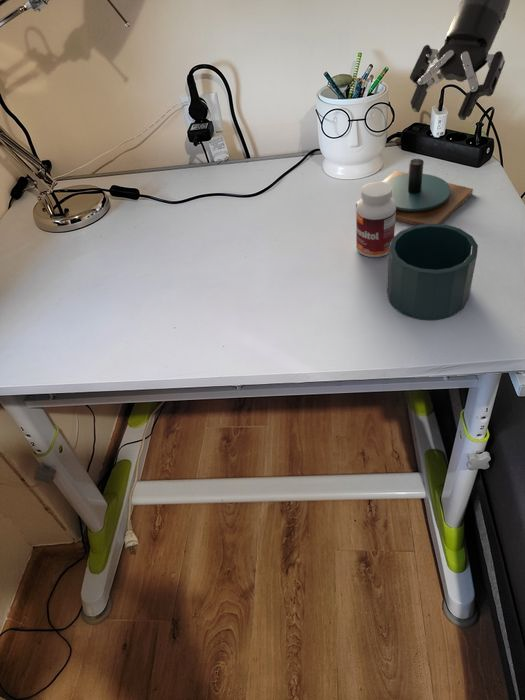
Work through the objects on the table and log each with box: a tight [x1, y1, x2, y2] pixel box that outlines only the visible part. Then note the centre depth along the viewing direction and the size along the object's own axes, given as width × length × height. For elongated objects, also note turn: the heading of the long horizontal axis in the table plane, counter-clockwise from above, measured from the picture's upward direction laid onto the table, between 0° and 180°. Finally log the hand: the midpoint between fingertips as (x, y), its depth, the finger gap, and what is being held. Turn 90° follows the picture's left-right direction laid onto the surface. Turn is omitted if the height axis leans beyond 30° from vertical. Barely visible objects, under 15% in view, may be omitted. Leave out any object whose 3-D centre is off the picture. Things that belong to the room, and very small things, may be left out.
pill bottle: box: [355, 180, 396, 258], centre depth 82 cm, size 6×6×11 cm
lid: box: [386, 158, 451, 211], centre depth 91 cm, size 13×13×7 cm
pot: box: [386, 223, 479, 321], centre depth 73 cm, size 12×12×8 cm
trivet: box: [355, 169, 474, 226], centre depth 94 cm, size 16×14×1 cm
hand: (437, 114), depth 86 cm, fingers open, 8 cm apart
